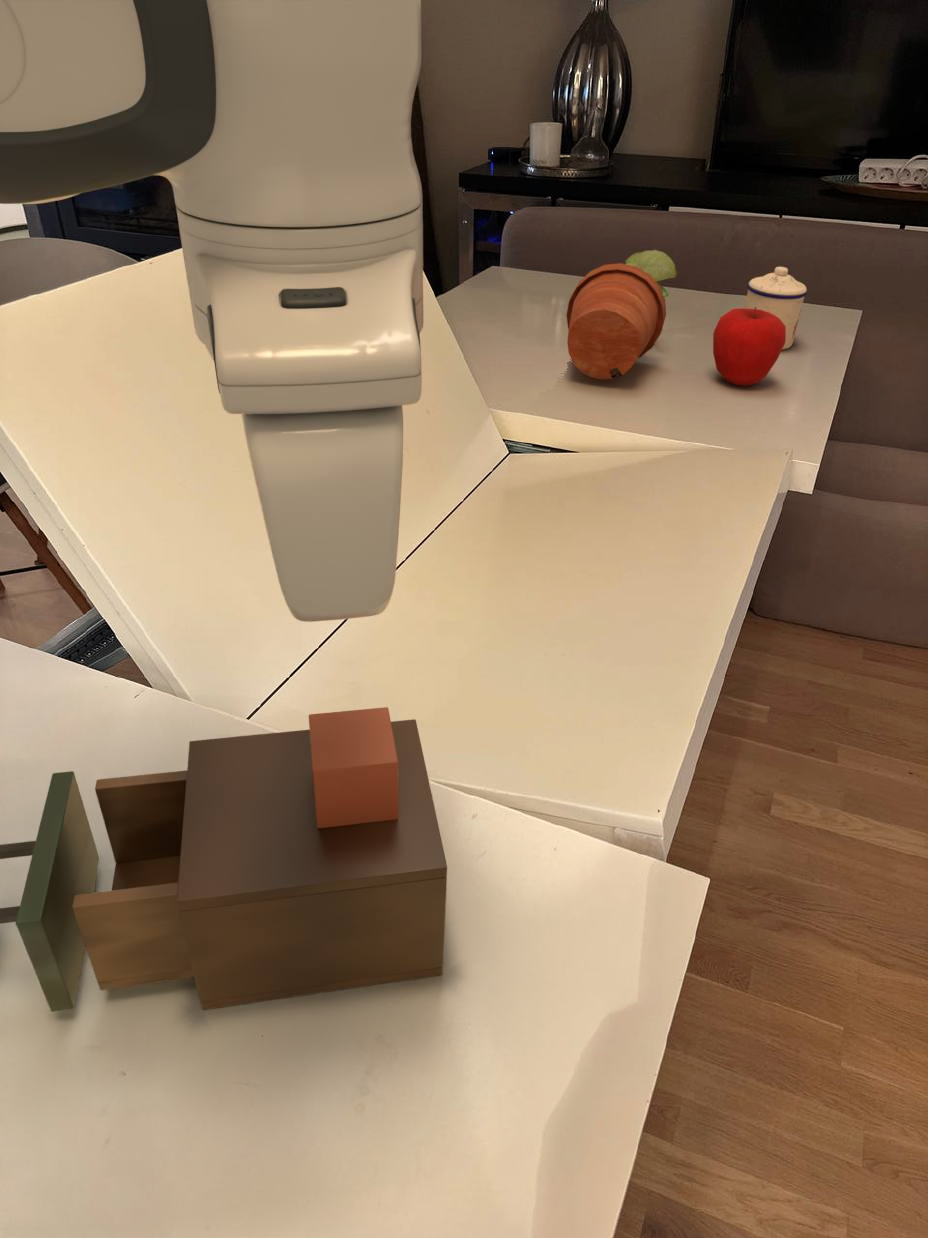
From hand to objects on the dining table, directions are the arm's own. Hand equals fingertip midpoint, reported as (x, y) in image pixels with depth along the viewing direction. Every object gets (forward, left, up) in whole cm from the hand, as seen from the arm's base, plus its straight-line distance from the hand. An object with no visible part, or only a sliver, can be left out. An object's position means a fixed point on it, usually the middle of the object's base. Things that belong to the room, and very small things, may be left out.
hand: (331, 585), depth 43 cm
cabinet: (-2, 0, -24) cm, 24 cm away
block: (+1, 0, -14) cm, 14 cm away
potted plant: (+49, +97, -24) cm, 111 cm away
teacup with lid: (+76, +100, -24) cm, 128 cm away
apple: (+64, +82, -24) cm, 107 cm away
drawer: (-13, 0, -23) cm, 26 cm away
